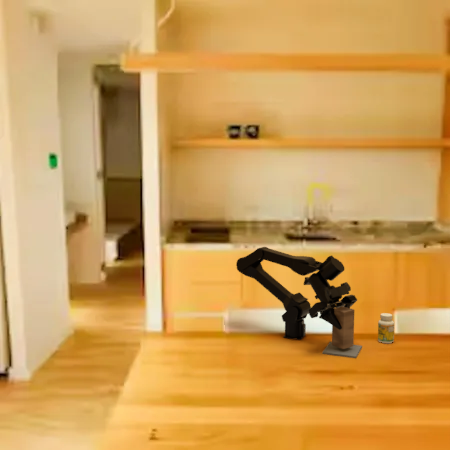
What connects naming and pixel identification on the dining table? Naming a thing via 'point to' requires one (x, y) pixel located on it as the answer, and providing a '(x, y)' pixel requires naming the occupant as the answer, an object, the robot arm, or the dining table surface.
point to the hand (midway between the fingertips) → (346, 327)
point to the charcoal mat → (342, 351)
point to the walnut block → (343, 328)
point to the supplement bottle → (386, 328)
